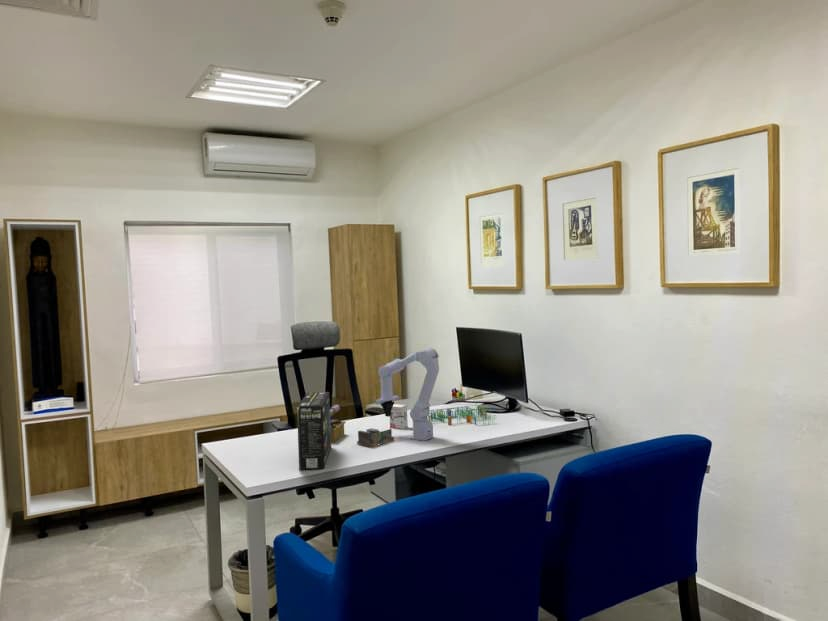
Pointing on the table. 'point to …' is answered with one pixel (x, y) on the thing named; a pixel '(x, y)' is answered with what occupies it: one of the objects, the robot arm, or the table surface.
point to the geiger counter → (336, 425)
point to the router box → (314, 430)
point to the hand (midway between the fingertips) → (387, 416)
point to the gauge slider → (373, 431)
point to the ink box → (398, 416)
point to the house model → (468, 415)
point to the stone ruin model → (374, 438)
